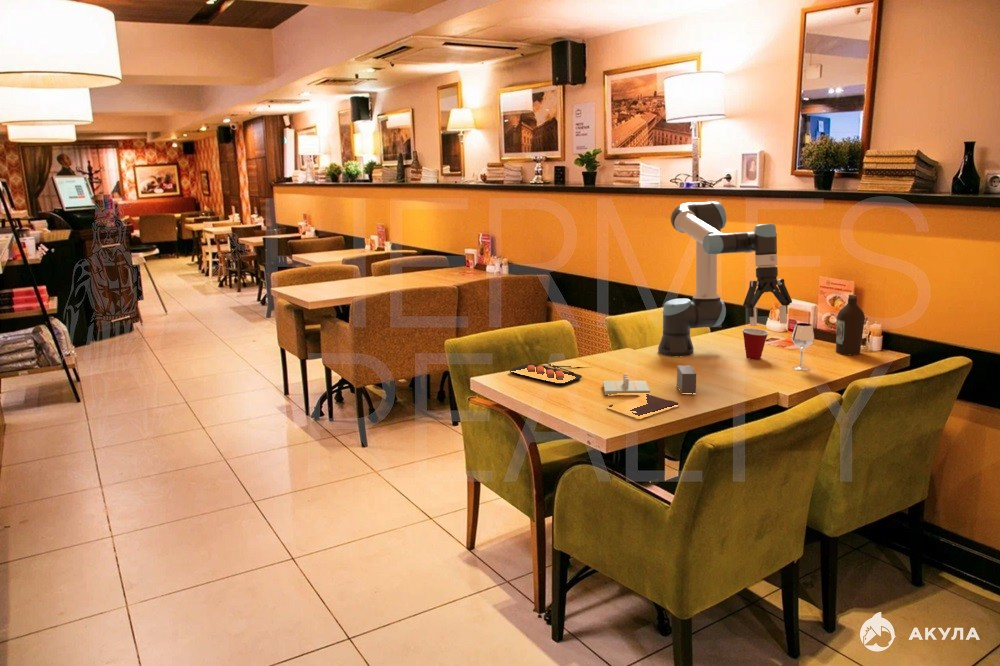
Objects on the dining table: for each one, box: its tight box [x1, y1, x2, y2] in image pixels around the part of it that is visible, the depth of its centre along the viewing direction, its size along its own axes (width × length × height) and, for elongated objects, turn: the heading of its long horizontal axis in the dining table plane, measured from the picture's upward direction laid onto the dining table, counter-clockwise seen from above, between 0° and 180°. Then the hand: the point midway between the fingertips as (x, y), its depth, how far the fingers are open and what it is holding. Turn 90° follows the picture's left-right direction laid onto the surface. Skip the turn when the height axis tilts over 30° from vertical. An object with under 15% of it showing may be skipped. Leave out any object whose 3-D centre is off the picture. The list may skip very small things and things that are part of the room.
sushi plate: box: [509, 362, 583, 385], centre depth 291 cm, size 29×30×4 cm
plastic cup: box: [741, 327, 770, 361], centre depth 301 cm, size 11×11×12 cm
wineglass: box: [791, 322, 815, 371], centre depth 284 cm, size 8×8×18 cm
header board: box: [602, 373, 651, 396], centre depth 264 cm, size 12×16×6 cm
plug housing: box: [676, 365, 697, 394], centre depth 262 cm, size 11×5×8 cm, turn 176°
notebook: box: [608, 394, 679, 416], centre depth 247 cm, size 15×20×2 cm
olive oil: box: [835, 294, 866, 356], centre depth 303 cm, size 11×11×25 cm
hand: (768, 324), depth 263 cm, fingers open, 13 cm apart
